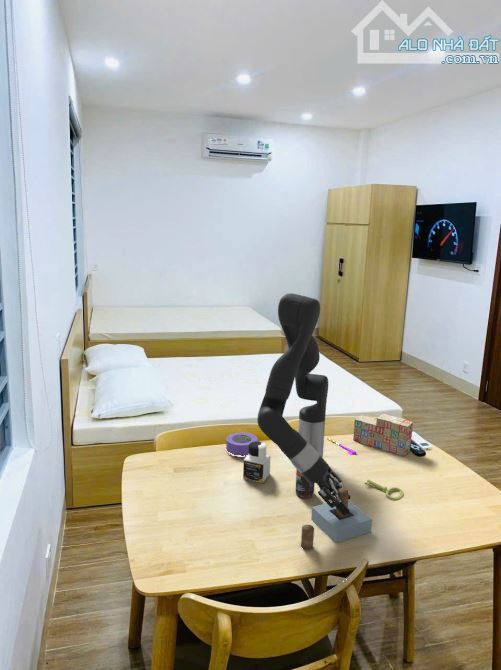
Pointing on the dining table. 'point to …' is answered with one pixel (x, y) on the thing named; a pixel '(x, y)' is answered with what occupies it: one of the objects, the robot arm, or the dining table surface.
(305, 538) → the walnut pin short
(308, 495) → the supplement bottle
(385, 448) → the stack of blocks
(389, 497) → the key
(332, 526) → the collar block
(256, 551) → the dining table surface
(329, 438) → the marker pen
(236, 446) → the tape roll
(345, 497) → the walnut pin tall
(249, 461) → the medicine bottle
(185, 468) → the dining table surface
